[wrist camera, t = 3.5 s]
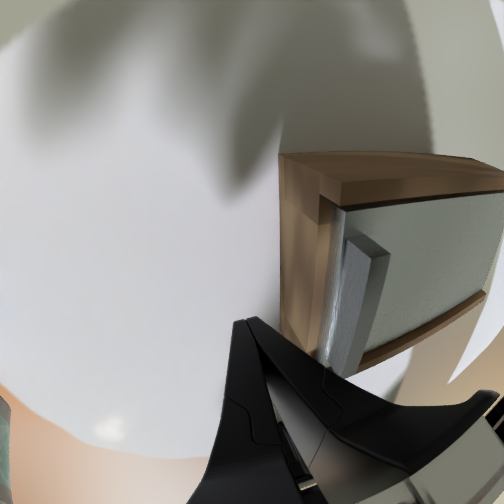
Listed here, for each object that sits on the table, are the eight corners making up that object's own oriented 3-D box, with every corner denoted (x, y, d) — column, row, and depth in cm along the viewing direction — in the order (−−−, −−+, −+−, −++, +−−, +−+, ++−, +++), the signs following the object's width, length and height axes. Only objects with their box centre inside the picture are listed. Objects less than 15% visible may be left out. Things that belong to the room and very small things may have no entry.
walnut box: (446, 271, 19) (483, 300, 15) (279, 329, 16) (312, 391, 12) (471, 158, 14) (520, 178, 10) (278, 154, 11) (341, 182, 7)
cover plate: (475, 283, 16) (494, 298, 14) (314, 358, 12) (334, 391, 11) (503, 187, 12) (527, 200, 10) (331, 203, 9) (373, 230, 7)
